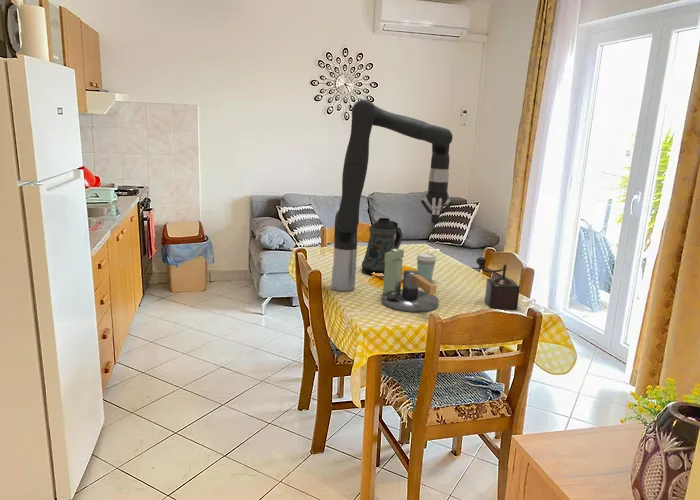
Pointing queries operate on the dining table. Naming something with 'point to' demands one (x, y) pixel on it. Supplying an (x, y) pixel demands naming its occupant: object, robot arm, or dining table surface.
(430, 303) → the base
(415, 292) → the wooden handled mallet
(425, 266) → the coffee cup
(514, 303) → the manual coffee grinder
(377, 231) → the beer stein
